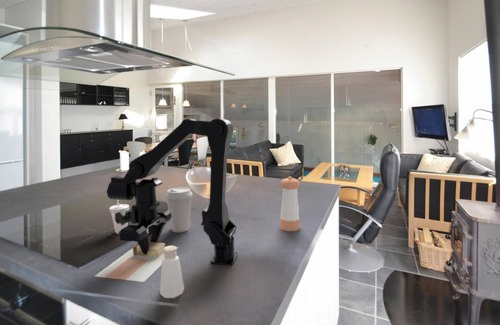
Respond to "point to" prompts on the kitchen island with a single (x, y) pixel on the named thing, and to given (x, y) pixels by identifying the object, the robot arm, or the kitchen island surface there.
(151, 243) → the wooden block
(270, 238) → the kitchen island surface
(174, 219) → the coffee cup
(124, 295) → the kitchen island surface
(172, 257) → the pepper shaker
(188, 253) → the kitchen island surface
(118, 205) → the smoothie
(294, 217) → the salt shaker
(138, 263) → the mat
